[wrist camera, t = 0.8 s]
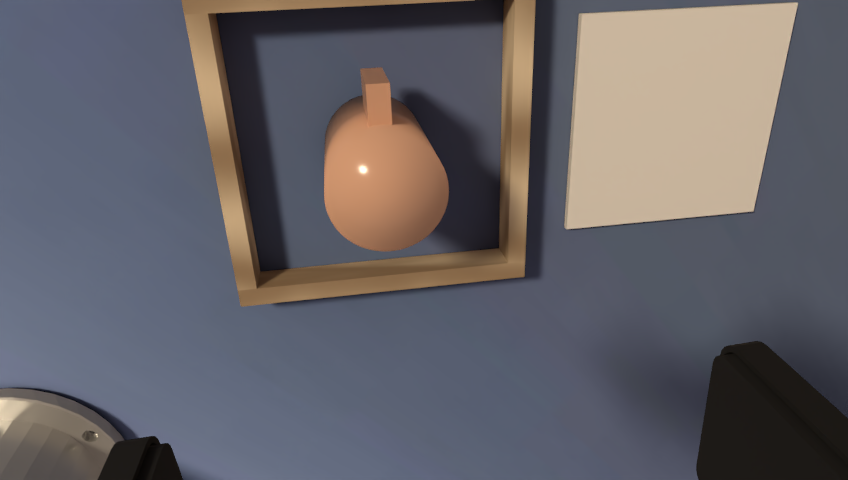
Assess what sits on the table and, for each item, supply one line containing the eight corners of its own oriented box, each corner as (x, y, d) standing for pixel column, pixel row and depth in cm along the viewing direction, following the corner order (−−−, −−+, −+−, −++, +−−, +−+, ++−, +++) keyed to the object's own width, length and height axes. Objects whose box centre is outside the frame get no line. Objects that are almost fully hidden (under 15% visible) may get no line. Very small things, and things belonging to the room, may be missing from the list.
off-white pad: (749, 208, 37) (753, 211, 37) (564, 226, 36) (566, 229, 36) (792, 2, 32) (798, 2, 32) (579, 13, 31) (582, 14, 30)
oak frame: (514, 261, 36) (524, 276, 35) (245, 288, 35) (241, 306, 33) (523, -27, 30) (536, -26, 28) (188, -12, 28) (179, -10, 26)
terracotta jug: (423, 184, 34) (450, 245, 26) (329, 192, 33) (331, 256, 26) (418, 57, 31) (447, 86, 23) (315, 63, 30) (312, 95, 23)
